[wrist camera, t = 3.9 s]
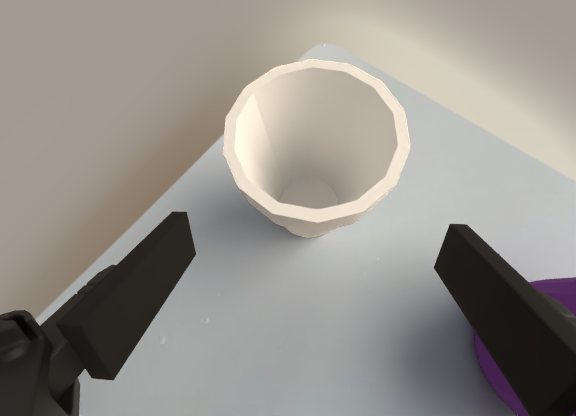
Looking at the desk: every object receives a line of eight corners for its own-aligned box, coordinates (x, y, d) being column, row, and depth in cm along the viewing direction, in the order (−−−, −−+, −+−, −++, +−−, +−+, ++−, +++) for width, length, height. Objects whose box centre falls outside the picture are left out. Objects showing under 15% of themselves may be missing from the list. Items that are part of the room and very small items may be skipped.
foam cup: (332, 270, 23) (368, 257, 10) (246, 229, 24) (188, 175, 12) (368, 185, 25) (432, 89, 13) (287, 152, 27) (274, 40, 14)
